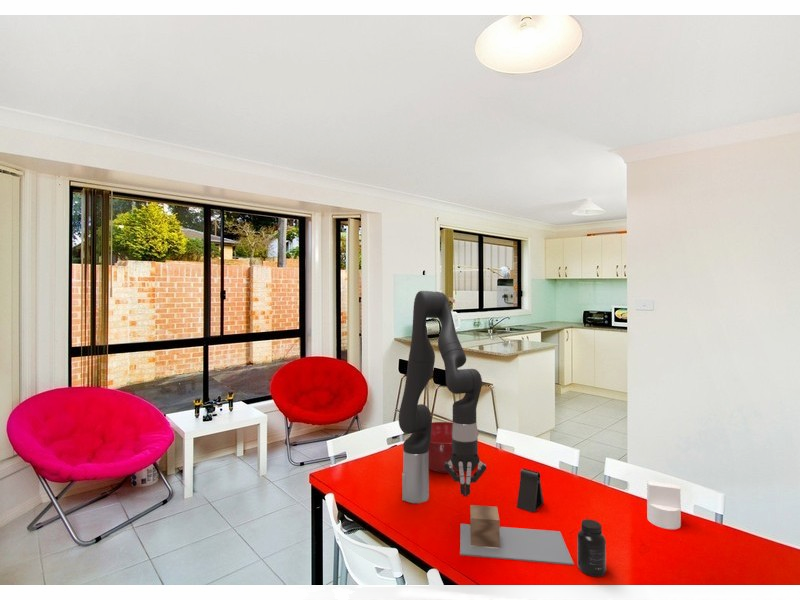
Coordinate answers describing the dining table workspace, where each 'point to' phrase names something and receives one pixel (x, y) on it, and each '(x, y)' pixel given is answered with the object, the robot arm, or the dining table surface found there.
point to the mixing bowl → (440, 446)
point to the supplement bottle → (591, 548)
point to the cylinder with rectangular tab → (664, 505)
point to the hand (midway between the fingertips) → (465, 495)
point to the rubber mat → (520, 545)
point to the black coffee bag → (529, 491)
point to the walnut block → (484, 526)
